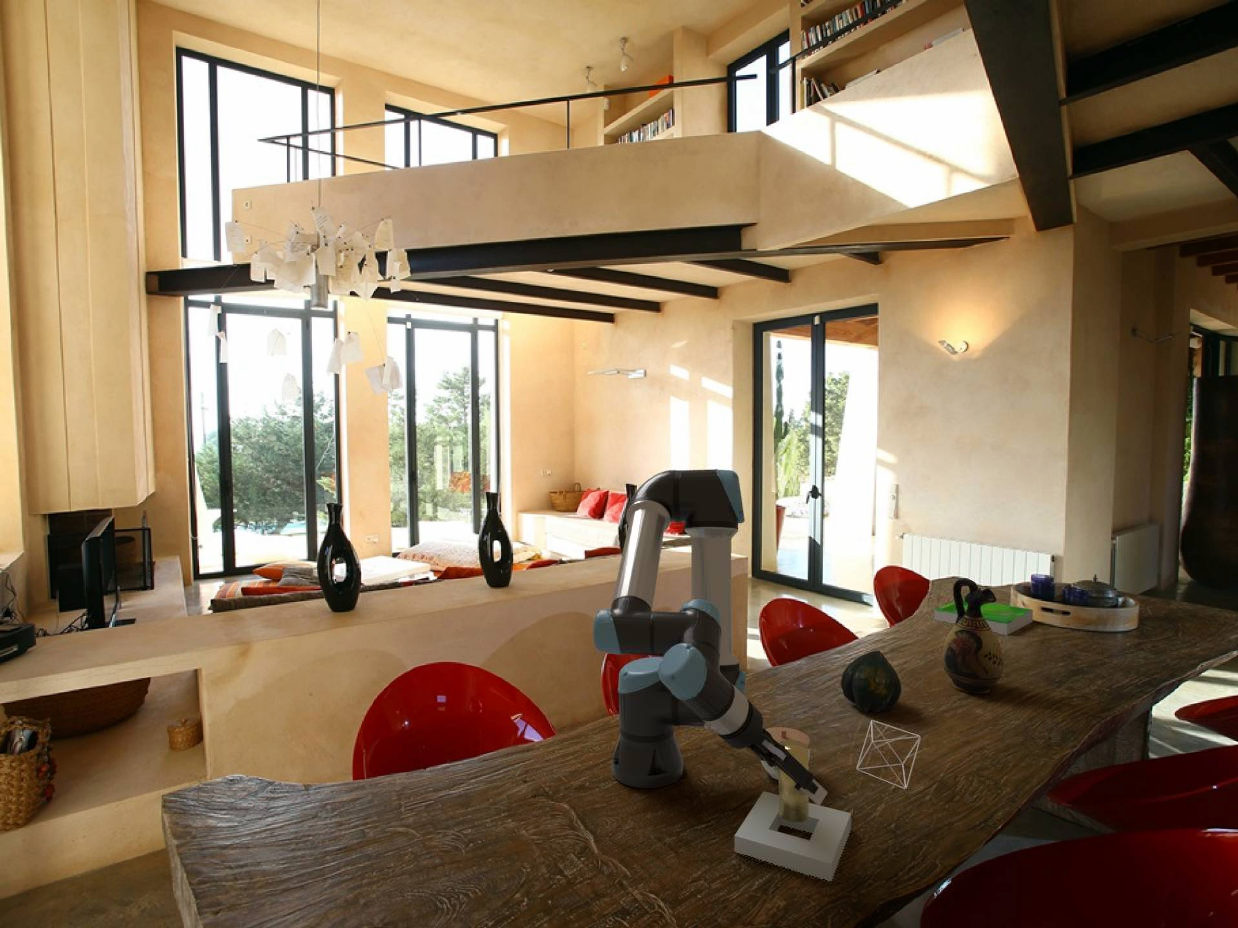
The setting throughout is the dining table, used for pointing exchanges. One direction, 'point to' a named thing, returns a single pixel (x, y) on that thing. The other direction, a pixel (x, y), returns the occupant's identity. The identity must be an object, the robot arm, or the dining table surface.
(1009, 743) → the dining table surface
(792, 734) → the lidded jar
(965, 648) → the ceramic jug
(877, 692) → the squash
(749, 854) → the frame
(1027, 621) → the tray
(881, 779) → the geometric polyhedron
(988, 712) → the dining table surface
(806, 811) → the gold cylinder
